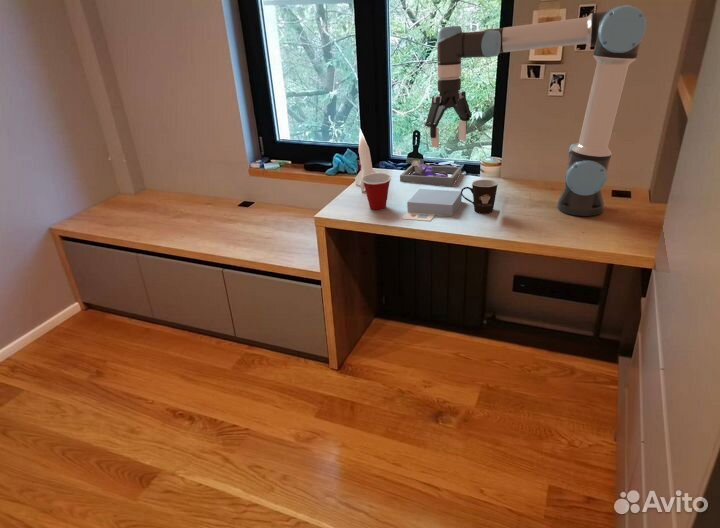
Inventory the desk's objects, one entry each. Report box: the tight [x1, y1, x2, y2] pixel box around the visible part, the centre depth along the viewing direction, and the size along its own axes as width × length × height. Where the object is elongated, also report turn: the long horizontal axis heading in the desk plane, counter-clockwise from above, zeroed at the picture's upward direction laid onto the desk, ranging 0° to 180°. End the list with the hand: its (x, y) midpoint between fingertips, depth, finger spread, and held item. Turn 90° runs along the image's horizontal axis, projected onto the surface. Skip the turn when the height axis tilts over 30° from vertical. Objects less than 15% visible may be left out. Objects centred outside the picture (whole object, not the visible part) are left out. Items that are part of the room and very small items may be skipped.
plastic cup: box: [362, 172, 392, 211], centre depth 189 cm, size 11×11×12 cm
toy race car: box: [411, 163, 449, 177], centre depth 219 cm, size 10×15×6 cm, turn 62°
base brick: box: [406, 188, 463, 217], centre depth 189 cm, size 16×16×4 cm
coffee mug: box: [460, 179, 499, 215], centre depth 182 cm, size 12×9×10 cm
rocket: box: [354, 128, 377, 192], centre depth 207 cm, size 10×9×24 cm
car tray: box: [399, 164, 462, 187], centre depth 220 cm, size 22×17×4 cm
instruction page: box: [401, 211, 436, 222], centre depth 182 cm, size 10×7×1 cm
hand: (448, 143), depth 179 cm, fingers open, 13 cm apart
